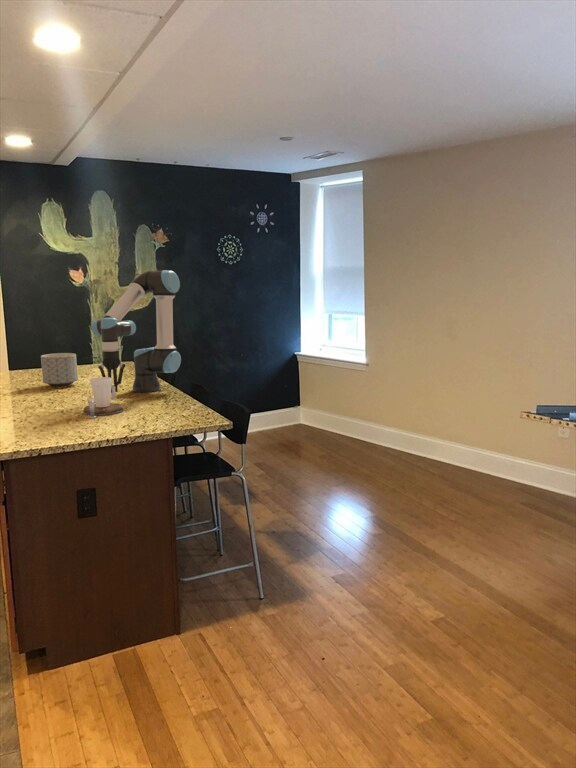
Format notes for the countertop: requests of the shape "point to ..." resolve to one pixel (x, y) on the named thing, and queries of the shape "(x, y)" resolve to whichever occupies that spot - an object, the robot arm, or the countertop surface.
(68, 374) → the planter
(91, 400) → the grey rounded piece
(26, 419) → the countertop surface
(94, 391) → the cup
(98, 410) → the brown and teal disc
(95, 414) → the base
